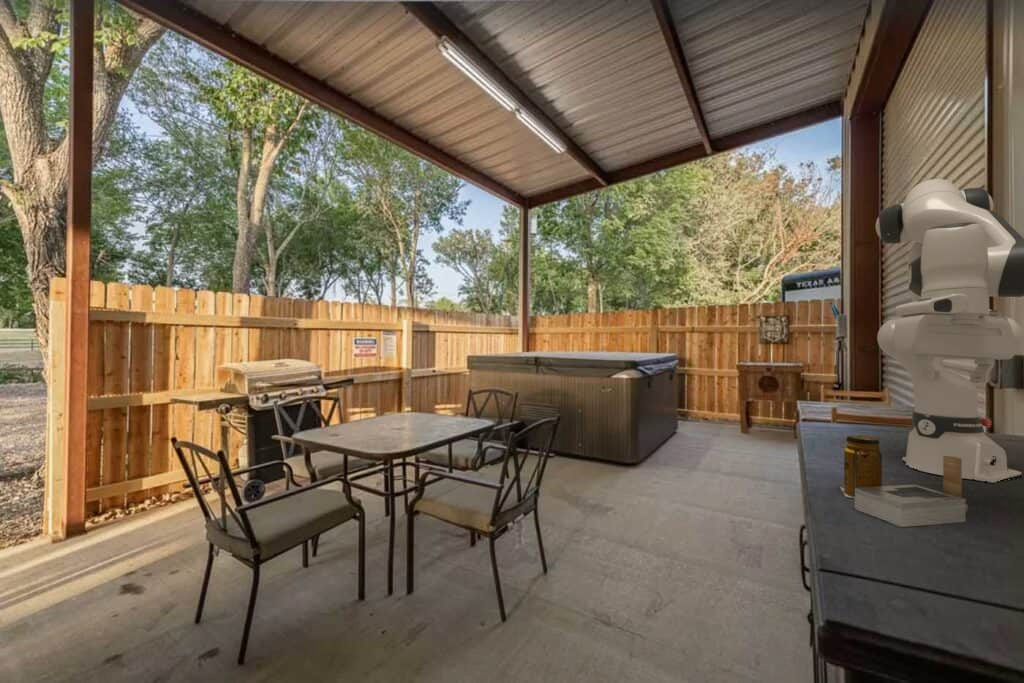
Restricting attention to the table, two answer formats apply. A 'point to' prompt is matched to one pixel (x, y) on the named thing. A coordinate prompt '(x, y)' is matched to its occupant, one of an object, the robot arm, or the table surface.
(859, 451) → the condiment
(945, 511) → the keyhole plate
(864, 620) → the table surface
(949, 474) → the peg
